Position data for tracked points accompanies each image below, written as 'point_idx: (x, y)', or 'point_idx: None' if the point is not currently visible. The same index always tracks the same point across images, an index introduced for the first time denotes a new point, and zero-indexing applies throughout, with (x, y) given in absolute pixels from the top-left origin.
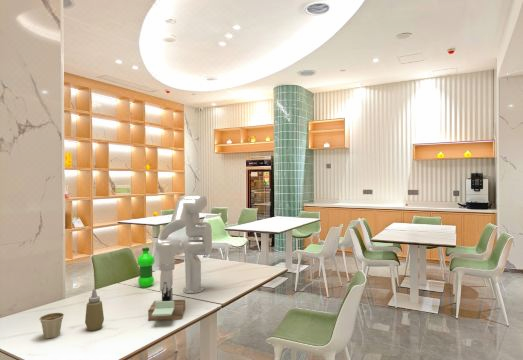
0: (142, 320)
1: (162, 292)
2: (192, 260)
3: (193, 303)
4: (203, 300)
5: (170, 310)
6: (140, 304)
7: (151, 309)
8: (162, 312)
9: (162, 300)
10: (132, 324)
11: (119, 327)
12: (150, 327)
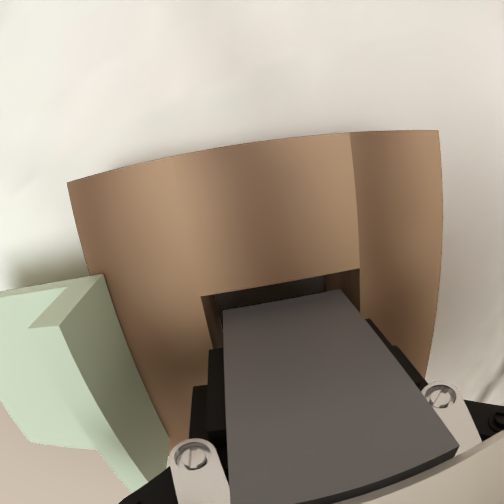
0: (118, 110)
1: (233, 482)
2: None
3: (460, 376)
4: (479, 399)
5: (74, 435)
6: (477, 6)
7: (102, 210)
8: (13, 385)
9: (224, 367)
10: (40, 75)
11: (6, 23)
12: (8, 253)
